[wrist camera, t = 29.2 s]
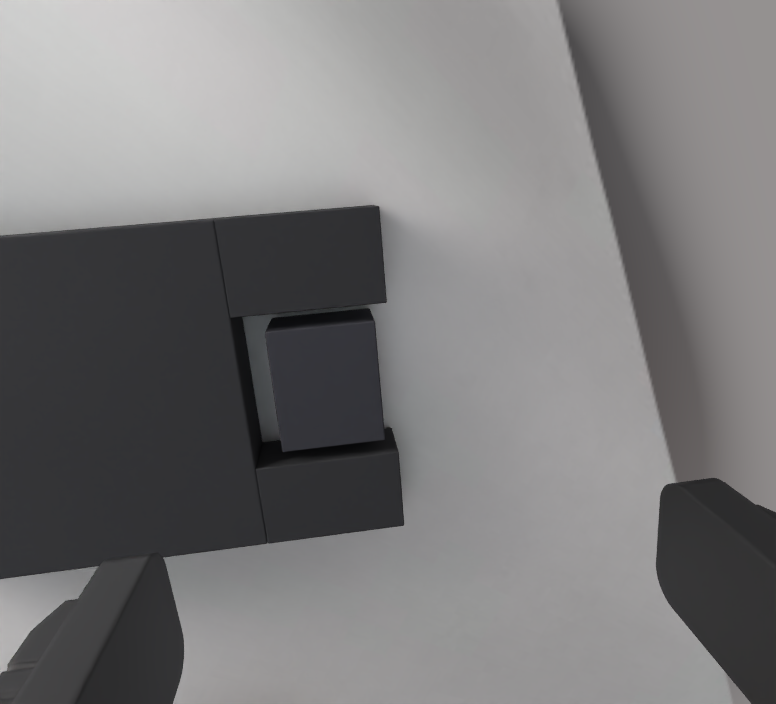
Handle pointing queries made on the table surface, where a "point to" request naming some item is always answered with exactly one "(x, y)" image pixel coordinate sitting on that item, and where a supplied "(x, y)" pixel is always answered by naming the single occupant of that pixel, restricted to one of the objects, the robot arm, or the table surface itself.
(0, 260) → the big notched pad
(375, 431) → the small black box
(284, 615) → the table surface
